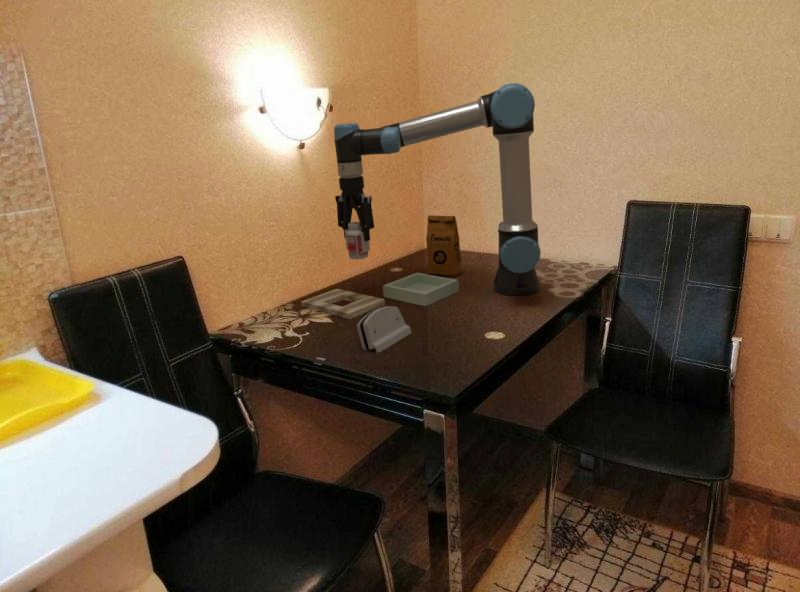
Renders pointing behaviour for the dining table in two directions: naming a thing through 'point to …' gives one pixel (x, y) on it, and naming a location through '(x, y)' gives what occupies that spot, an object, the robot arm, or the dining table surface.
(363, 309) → the socket block
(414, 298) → the tray
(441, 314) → the dining table surface
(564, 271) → the dining table surface
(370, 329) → the napkin holder
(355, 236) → the pill bottle
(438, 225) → the coffee package
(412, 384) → the dining table surface
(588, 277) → the dining table surface
